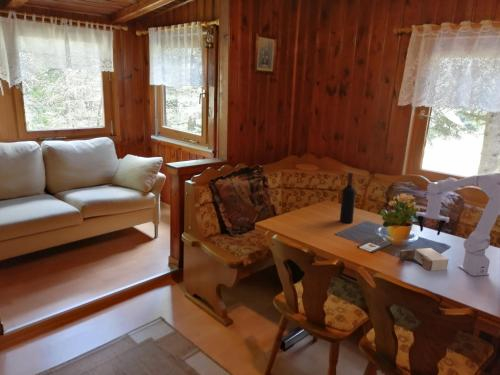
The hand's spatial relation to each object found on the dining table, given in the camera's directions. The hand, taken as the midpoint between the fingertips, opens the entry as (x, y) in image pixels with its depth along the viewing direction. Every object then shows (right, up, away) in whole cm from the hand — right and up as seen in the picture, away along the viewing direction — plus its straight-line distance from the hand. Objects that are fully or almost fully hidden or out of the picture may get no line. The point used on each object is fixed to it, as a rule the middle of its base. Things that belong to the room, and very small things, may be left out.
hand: (429, 232), depth 181 cm
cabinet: (-6, -13, -12) cm, 18 cm away
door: (-15, -12, -8) cm, 20 cm away
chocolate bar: (-25, -8, +8) cm, 27 cm away
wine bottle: (-30, +1, +42) cm, 52 cm away
